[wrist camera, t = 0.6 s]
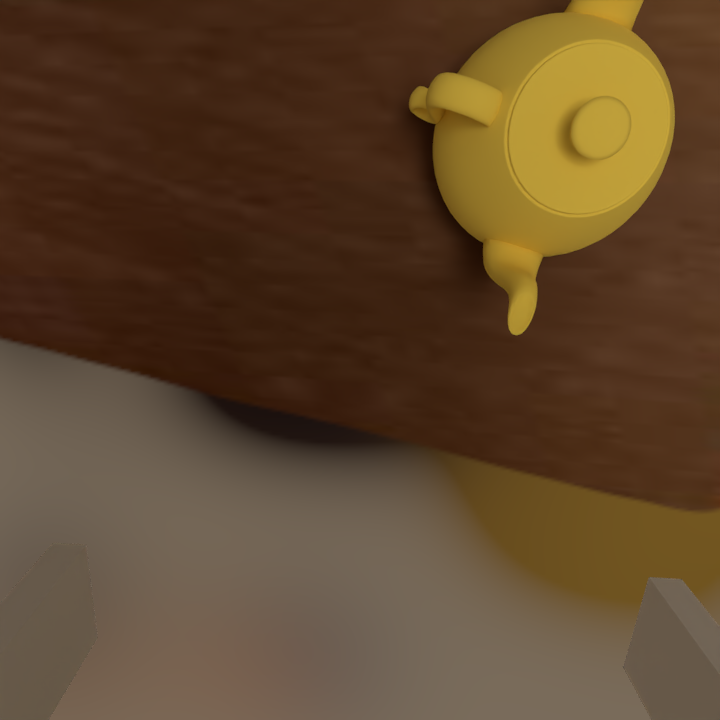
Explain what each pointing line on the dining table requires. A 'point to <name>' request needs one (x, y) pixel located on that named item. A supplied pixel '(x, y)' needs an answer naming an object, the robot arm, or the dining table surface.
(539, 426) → the dining table surface
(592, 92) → the teapot
